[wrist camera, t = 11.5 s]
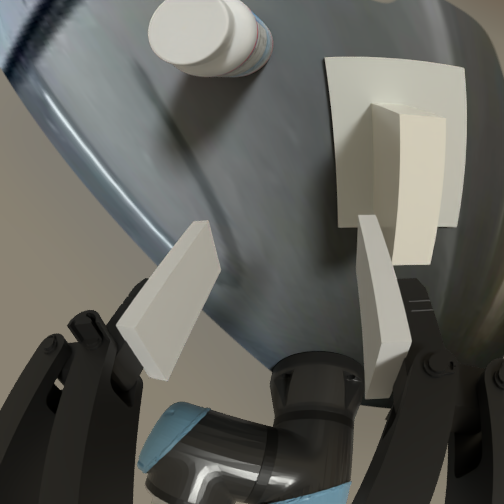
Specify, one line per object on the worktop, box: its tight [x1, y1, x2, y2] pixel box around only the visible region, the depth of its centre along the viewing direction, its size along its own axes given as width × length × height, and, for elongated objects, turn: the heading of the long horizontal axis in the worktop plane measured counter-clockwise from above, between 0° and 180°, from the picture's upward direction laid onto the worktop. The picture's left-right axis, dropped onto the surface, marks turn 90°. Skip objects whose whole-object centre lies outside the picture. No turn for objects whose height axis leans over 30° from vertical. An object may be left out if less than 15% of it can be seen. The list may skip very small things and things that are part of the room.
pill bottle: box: [148, 0, 273, 77], centre depth 16 cm, size 6×6×11 cm
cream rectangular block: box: [371, 103, 446, 265], centre depth 19 cm, size 10×3×9 cm, turn 9°
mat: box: [325, 57, 467, 228], centre depth 22 cm, size 16×13×1 cm
